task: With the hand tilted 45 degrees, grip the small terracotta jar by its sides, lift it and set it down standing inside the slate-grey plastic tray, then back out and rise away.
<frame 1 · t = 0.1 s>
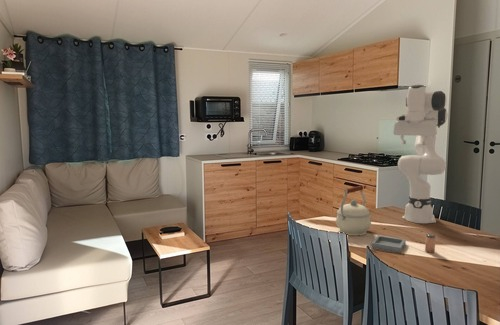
hand: (414, 144, 194), 48 cm above the table, tool pointing down, fingers open, 8 cm apart
tray: (388, 246, 184), on the table
kettle: (354, 231, 207), on the table
terracotta jar: (429, 251, 176), on the table
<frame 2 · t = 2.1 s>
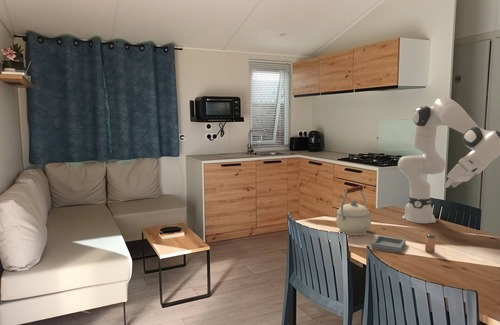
hand: (449, 186, 169), 31 cm above the table, tool tilted 40°, fingers open, 8 cm apart
nothing on the table moved.
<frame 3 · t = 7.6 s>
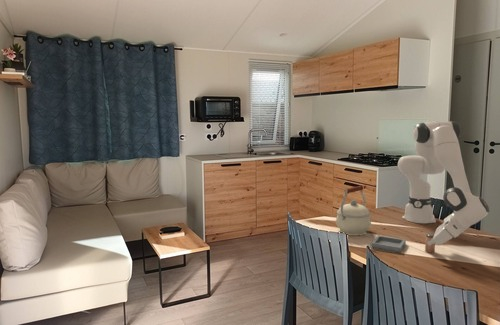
hand: (428, 242, 176), 4 cm above the table, tool tilted 45°, fingers closed on terracotta jar, 4 cm apart
terracotta jar: (429, 251, 176), on the table, touching gripper
everything else where it was.
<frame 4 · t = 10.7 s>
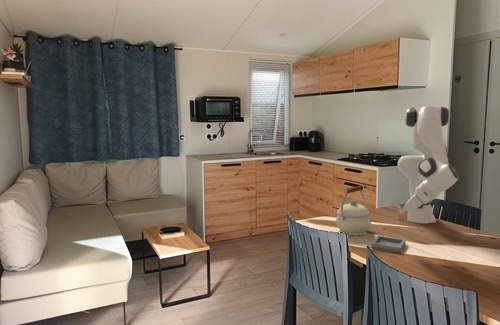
hand: (401, 210, 179), 18 cm above the table, tool tilted 45°, fingers closed on terracotta jar, 4 cm apart
terracotta jar: (402, 220, 179), point 14 cm above the table, touching gripper
everything else where it was.
when the fingers open (6 cm above the table, at t = 13.9 s): terracotta jar drops 1 cm, resting on tray.
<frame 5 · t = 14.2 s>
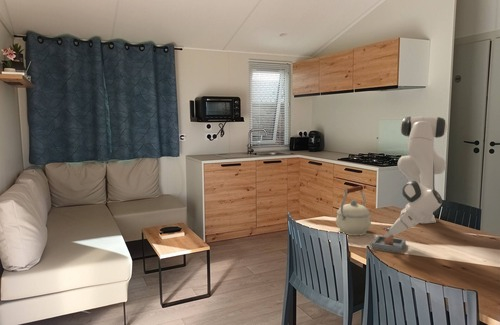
hand: (387, 233, 183), 6 cm above the table, tool tilted 45°, fingers open, 7 cm apart
terracotta jar: (388, 244, 184), point 1 cm above the table, touching tray
everything else where it was.
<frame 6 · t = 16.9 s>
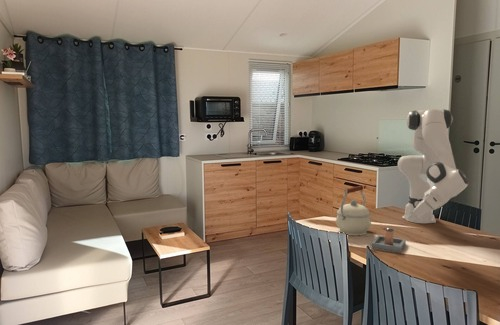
hand: (410, 216, 177), 16 cm above the table, tool tilted 45°, fingers open, 8 cm apart
nothing on the table moved.
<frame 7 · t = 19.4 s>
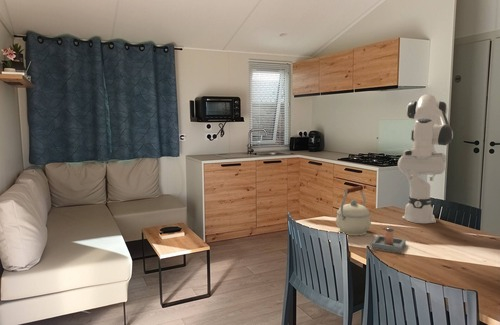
hand: (421, 179, 187), 31 cm above the table, tool pointing down, fingers open, 8 cm apart
nothing on the table moved.
at the end: terracotta jar inside the target area on the tray (0.0 cm from its centre), point 0.8 cm above the tray's base; terracotta jar tilted 0°; the gripper is holding nothing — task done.
